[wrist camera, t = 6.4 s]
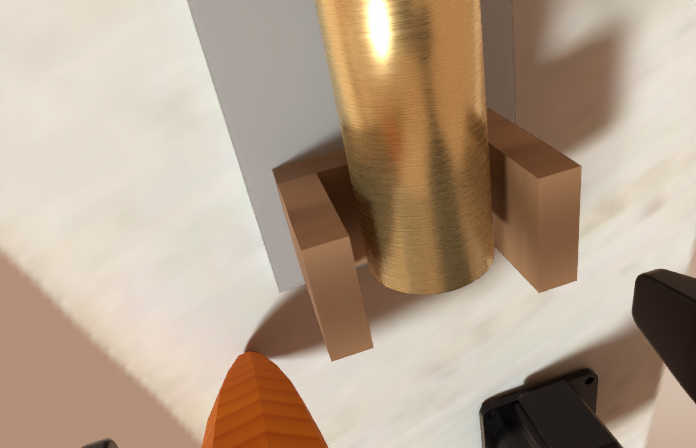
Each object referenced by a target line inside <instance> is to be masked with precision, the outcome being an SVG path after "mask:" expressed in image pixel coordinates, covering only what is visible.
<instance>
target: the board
mask: <svg viewBox="0 0 696 448" xmlns="http://www.w3.org/2000/svg"><path fill="white" fill-rule="evenodd" d="M187 2H188V5H189V9H190V12H191V15H192V18H193V21H194V24H195V27H196V31H197V34H198V37H199V40H200V43H201V46H202V50H203V53H204V56H205V59H206V62H207V65H208V68H209V72H210V75H211V78H212V81H213V84H214V87H215V91H216V94H217V97H218V100H219V103H220V106H221V109H222V113H223V116H224V119H225V122H226V125H227V128H228V131H229V135H230V138H231V141H232V144H233V147H234V150H235V154H236V157H237V160H238V163H239V166H240V169H241V172H242V176H243V179H244V182H245V185H246V188H247V191H248V195H249V198H250V201H251V204H252V207H253V210H254V213H255V217H256V220H257V223H258V226H259V229H260V232H261V235H262V239H263V242H264V245H265V248H266V251H267V254H268V258H269V261H270V264H271V267H272V270H273V273H274V276H275V280H276V283H277V286H278V289H279V292H283V291H287V290H290V289H293V288H296V287H300V286H303V285H306V284H305V281H304V278H303V275H302V272H301V269H300V266H299V263H298V259H297V256H296V252H295V249H294V245H293V242H292V238H291V235H290V231H289V228H288V224H287V221H286V217H285V214H284V210H283V207H282V203H281V200H280V196H279V193H278V189H277V185H276V182H275V178H274V175H273V171H272V169H275V168H279V167H283V166H286V165H290V164H293V163H297V162H300V161H304V160H307V159H311V158H315V157H318V156H322V155H325V154H329V153H332V152H336V151H339V150H343V149H344V144H343V139H342V134H341V129H340V124H339V119H338V114H337V109H336V105H335V100H334V95H333V90H332V85H331V80H330V75H329V70H328V65H327V60H326V56H325V51H324V46H323V41H322V36H321V31H320V26H319V21H318V16H317V12H316V7H315V2H314V0H187ZM480 5H481V23H482V40H483V58H484V76H485V93H486V109H491V110H493V111H494V112H496V113H497V114H499V115H501V116H502V117H504V118H505V119H507V120H509V121H510V122H512V123H513V124H515V125H516V123H515V88H514V52H513V17H512V0H480ZM367 265H368V262H367V263H364V264H361V265H358V266H356V269H357V268H361V267H364V266H367Z"/></svg>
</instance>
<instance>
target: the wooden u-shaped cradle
mask: <svg viewBox="0 0 696 448" xmlns="http://www.w3.org/2000/svg"><path fill="white" fill-rule="evenodd" d="M486 111H487V129H488V147H489V164H490V182H491V200H492V217H493V235H494V246H495V247H496V248H497V249H498V250H499V251H500V252H501V253H502V254H503V255H504V257H505V258H506V259H507V260H508V261H509V262H510V263H511V264H512V265H513V266H514V267H515V268H516V269H517V270H518V271H519V272H520V273H521V274H522V276H523V277H524V278H525V279H526V280H527V281H528V282H529V283H530V284H531V285H532V286H533V287H534V288H535V289H536V290H537V291H538V292H539V293H540V292H543V291H546V290H549V289H553V288H556V287H559V286H562V285H565V284H568V283H571V282H574V281H577V266H578V240H579V215H580V189H581V165H579V164H577V163H576V162H574V161H573V160H571V159H569V158H568V157H566V156H565V155H563V154H561V153H560V152H558V151H557V150H555V149H553V148H552V147H550V146H549V145H547V144H545V143H544V142H542V141H541V140H539V139H537V138H536V137H534V136H533V135H531V134H529V133H528V132H526V131H525V130H523V129H521V128H520V127H518V126H517V125H515V124H513V123H512V122H510V121H509V120H507V119H505V118H504V117H502V116H501V115H499V114H497V113H496V112H494V111H493V110H491V109H486ZM272 171H273V175H274V178H275V182H276V185H277V189H278V193H279V196H280V200H281V203H282V207H283V210H284V214H285V217H286V221H287V224H288V228H289V231H290V235H291V238H292V242H293V245H294V249H295V252H296V256H297V259H298V263H299V266H300V269H301V272H302V275H303V278H304V281H305V284H306V287H307V290H308V293H309V296H310V299H311V302H312V305H313V308H314V311H315V314H316V317H317V320H318V323H319V325H320V328H321V331H322V334H323V337H324V340H325V343H326V346H327V349H328V352H329V355H330V358H331V361H335V360H338V359H341V358H344V357H347V356H350V355H353V354H356V353H359V352H362V351H365V350H368V349H371V348H373V343H372V338H371V334H370V329H369V325H368V320H367V316H366V311H365V306H364V302H363V297H362V293H361V288H360V284H359V279H358V274H357V270H356V266H358V265H361V264H364V263H367V262H368V261H367V256H366V252H365V247H364V242H363V237H362V232H361V227H360V222H359V217H358V212H357V207H356V203H355V198H354V193H353V188H352V183H351V178H350V173H349V168H348V163H347V158H346V154H345V149H343V150H339V151H336V152H332V153H329V154H325V155H322V156H318V157H315V158H311V159H307V160H304V161H300V162H297V163H293V164H290V165H286V166H283V167H279V168H275V169H272Z"/></svg>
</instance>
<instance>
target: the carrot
mask: <svg viewBox="0 0 696 448" xmlns="http://www.w3.org/2000/svg"><path fill="white" fill-rule="evenodd" d="M202 448H328V446H327V444H326V442H325V440H324V438H323V436H322V434H321V432H320V430H319V429H318V427H317V425H316V423H315V421H314V420H313V418H312V416H311V414H310V412H309V411H308V409H307V407H306V405H305V403H304V402H303V400H302V399H301V397H300V395H299V394H298V392H297V390H296V389H295V387H294V386H293V384H292V382H291V381H290V380H289V379H288V378H287V376H286V375H285V374H284V373H283V372H282V371H281V370H280V368H279V367H278V366H277V365H276V364H275V363H273V362H272V361H270V360H269V359H268V358H266V357H265V356H264V355H262V354H261V353H258V352H252V351H248V352H246V353H244V354H242V355H239V356H238V357H237V359H236V361H235V362H234V364H233V365H232V367H231V368H230V370H229V371H228V373H227V375H226V378H225V380H224V382H223V385H222V387H221V389H220V391H219V394H218V396H217V399H216V401H215V404H214V406H213V409H212V411H211V414H210V416H209V419H208V421H207V426H206V431H205V435H204V440H203V444H202Z"/></svg>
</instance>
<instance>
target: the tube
mask: <svg viewBox="0 0 696 448" xmlns="http://www.w3.org/2000/svg"><path fill="white" fill-rule="evenodd" d="M314 2H315V7H316V12H317V16H318V21H319V26H320V31H321V36H322V41H323V46H324V51H325V56H326V60H327V65H328V70H329V75H330V80H331V85H332V90H333V95H334V100H335V105H336V109H337V114H338V119H339V124H340V129H341V134H342V139H343V144H344V149H345V154H346V158H347V163H348V168H349V173H350V178H351V183H352V188H353V193H354V198H355V203H356V207H357V212H358V217H359V222H360V227H361V232H362V237H363V242H364V247H365V252H366V256H367V261H368V266H369V270H370V272H371V274H372V275H373V277H374V278H375V279H376V280H377V281H378V282H380V283H381V284H382V285H384V286H386V287H388V288H390V289H393V290H395V291H399V292H403V293H409V294H419V295H428V294H439V293H444V292H449V291H453V290H456V289H459V288H461V287H464V286H466V285H468V284H470V283H472V282H474V281H475V280H477V279H478V278H480V277H481V276H482V275H483V274H484V273H485V272H486V271H487V270H488V269H489V267H490V266H491V264H492V262H493V259H494V235H493V217H492V200H491V182H490V164H489V147H488V129H487V111H486V93H485V76H484V58H483V40H482V23H481V5H480V0H314Z"/></svg>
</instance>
